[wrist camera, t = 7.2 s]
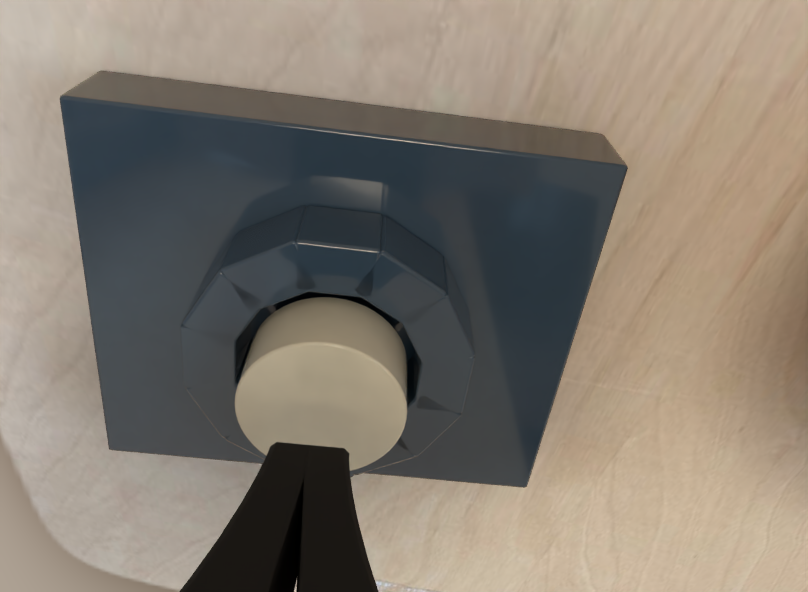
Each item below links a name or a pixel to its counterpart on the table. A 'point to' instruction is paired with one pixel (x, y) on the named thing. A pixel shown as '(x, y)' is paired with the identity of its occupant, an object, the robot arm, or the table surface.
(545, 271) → the push button base
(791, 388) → the table surface
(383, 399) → the cream cylinder puck
